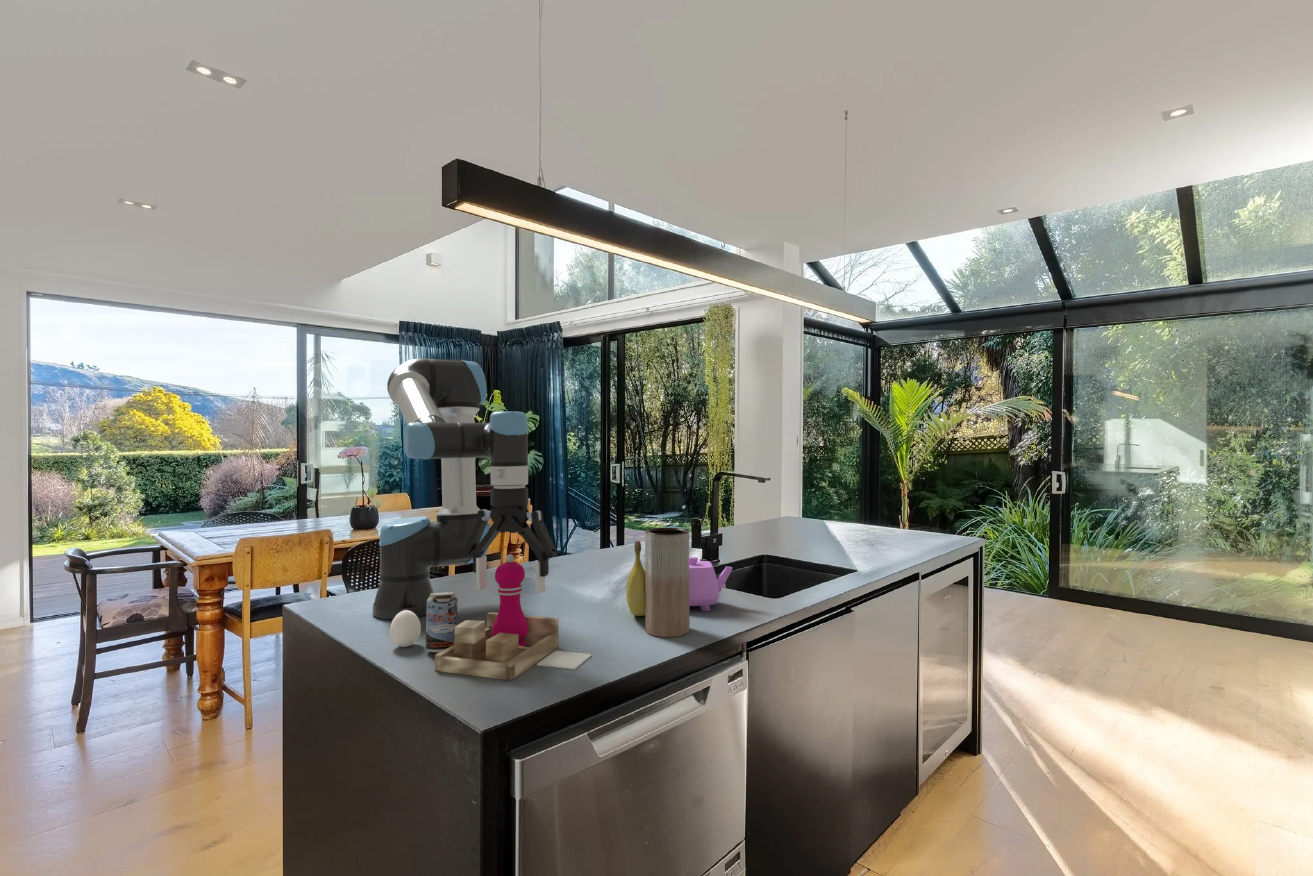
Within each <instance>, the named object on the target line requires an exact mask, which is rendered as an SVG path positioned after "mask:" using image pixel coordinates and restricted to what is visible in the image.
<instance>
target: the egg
mask: <svg viewBox="0 0 1313 876" xmlns="http://www.w3.org/2000/svg"><path fill="white" fill-rule="evenodd" d="M421 628H422V627H421V622H420V619H419V617H417V616H416V614H415V613H413V612H412V611H409V610H404V611H401V612H399V613H398V614H397V615H396V616H395V618H394V619H392V621H391V624H390V627H389V636H390V639H391V640H392V642H393V643H394V644H395V645H397V646H398V647H401V648H407V647H411V646H412V645H413V644H415V643H416V642H417V640H418V639H419V638H420V634H421V630H422V629H421Z"/></svg>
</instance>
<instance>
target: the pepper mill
mask: <svg viewBox="0 0 1313 876" xmlns="http://www.w3.org/2000/svg"><path fill="white" fill-rule="evenodd" d="M525 575H526V573H525V569H524V566H523V565H522V564H520V563H519V562H515V556H514V555H513V554H511V553H510V554H507V555H506V556H505V562H502V563H501V564H499V565H498V566H497V568H496V569H495V571H494V579H495V582H496V583H497V584H498V586H497V594H498V595H499V607H498V611H497V613H498V614H497V617H496V619H495V621H494V624H493V628H492V635H493V636H495V635H497V634H499V633H508V634H518V646H524V647H527V645H526V642H525V641H524V640H523V639H524V638H525V637H526V635H527V633H528V624H527V621H526V618H525V616H524V615H525V614H524V612H523V609H522V604H521V594H522V593H523V585H522V582H523V581H524V580H525Z"/></svg>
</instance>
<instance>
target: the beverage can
mask: <svg viewBox="0 0 1313 876" xmlns="http://www.w3.org/2000/svg"><path fill="white" fill-rule="evenodd" d="M425 616H426V617H425V621H426V623H425V645H424V646H425V649H426V650H428V651H429V653H439V652H441V651H443V650H445V649H447V648H449V647H451V646H453V645H454V642H455V627H456V626H457V625H458V597H457V596H456V592H452V591H450V592H449V591H445V592H442V591H441V592H434V593H431V594H430V597H429V598H428V600H427V614H426V615H425Z"/></svg>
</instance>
